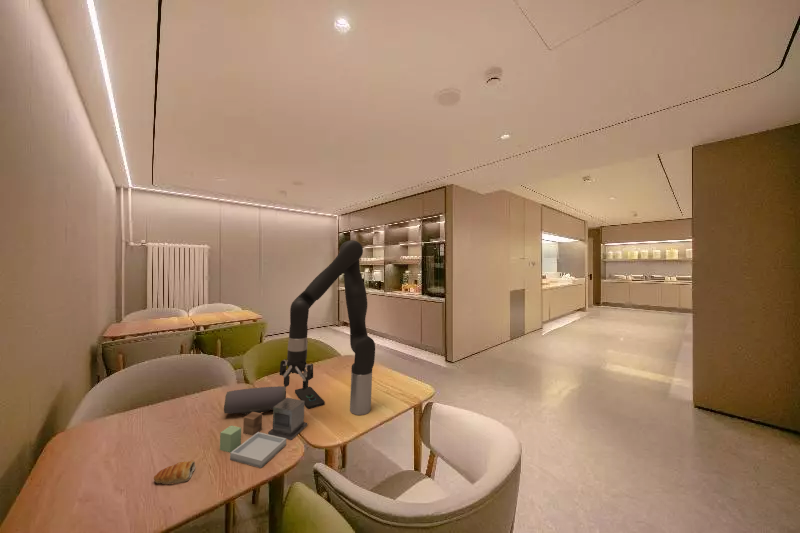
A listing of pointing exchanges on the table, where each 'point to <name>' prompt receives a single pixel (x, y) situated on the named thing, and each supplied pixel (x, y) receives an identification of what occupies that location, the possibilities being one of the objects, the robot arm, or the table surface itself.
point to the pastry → (176, 473)
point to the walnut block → (252, 423)
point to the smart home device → (309, 398)
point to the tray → (258, 449)
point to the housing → (288, 418)
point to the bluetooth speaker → (254, 399)
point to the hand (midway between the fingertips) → (295, 387)
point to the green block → (230, 438)
